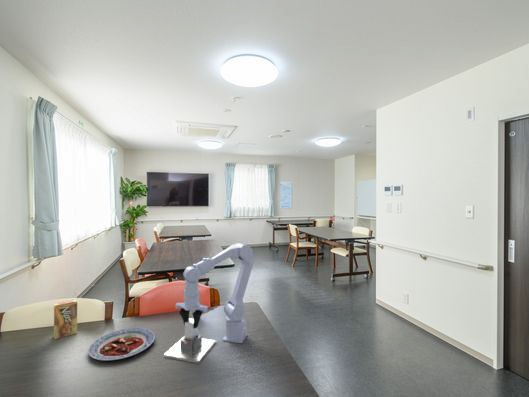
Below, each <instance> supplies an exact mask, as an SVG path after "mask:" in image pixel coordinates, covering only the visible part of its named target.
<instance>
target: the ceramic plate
mask: <svg viewBox="0 0 529 397" xmlns="http://www.w3.org/2000/svg"><path fill="white" fill-rule="evenodd" d="M155 336H156V335H155V333H154V332H153V331H152V330H150V329H147V328H144V327H143V328H141V327H138V328H135V327H133V328H132V327H131V328H124V329H120V330H116V331H112V332H111V333H110V332H109V333H108V334H106V335H104V336H101V337H99V338H98V339H96V340H94V342H93V343H91V344H90V346H89V348H88V351H87V352H88V355H89V357H91V358H92V359H95V360H98V361H115V360H121V359H126V358H129V357H132V356H134V355H137V354H139V353H142V352H143V351H145V350H146V349H148V348H149V347H150V346H151V345H152V344H153V343H154V341H155V340H156V339H155V338H156V337H155Z"/></svg>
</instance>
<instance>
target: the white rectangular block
mask: <svg viewBox="0 0 529 397" xmlns="http://www.w3.org/2000/svg"><path fill="white" fill-rule="evenodd" d="M198 334H199V326H198V327H197V328H194V319H193V318H189V319H188V320H187V321H186V322H185V325H184V336H185V340H188V341H194V340H195V339H196V338H197V337H198Z"/></svg>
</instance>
